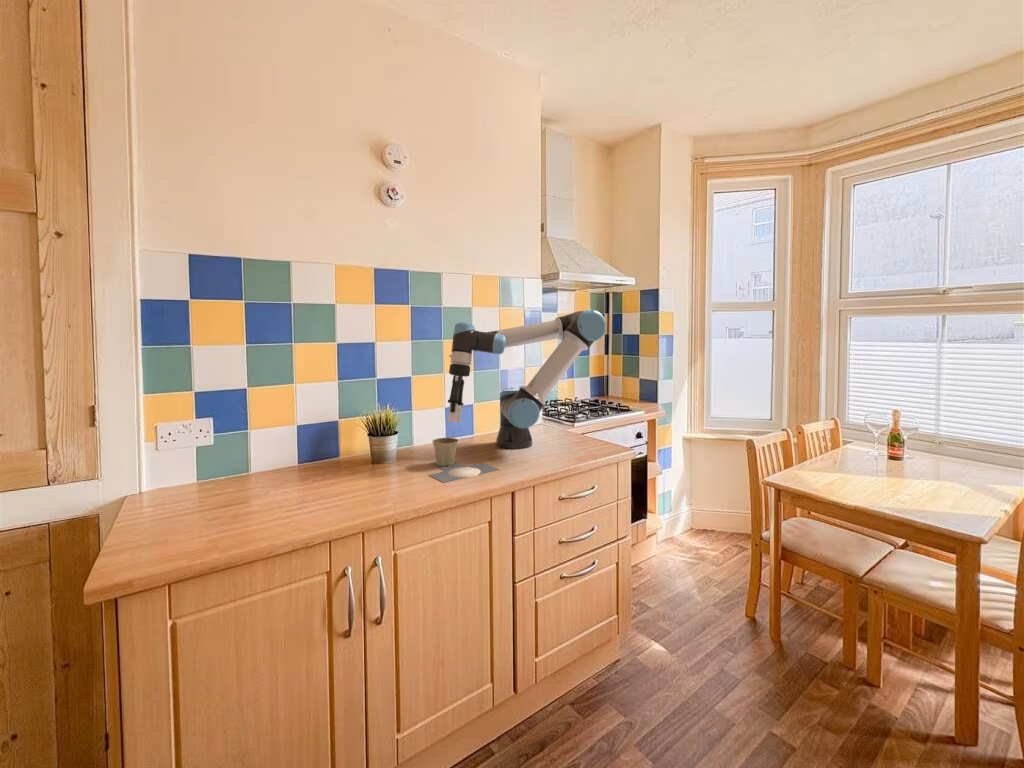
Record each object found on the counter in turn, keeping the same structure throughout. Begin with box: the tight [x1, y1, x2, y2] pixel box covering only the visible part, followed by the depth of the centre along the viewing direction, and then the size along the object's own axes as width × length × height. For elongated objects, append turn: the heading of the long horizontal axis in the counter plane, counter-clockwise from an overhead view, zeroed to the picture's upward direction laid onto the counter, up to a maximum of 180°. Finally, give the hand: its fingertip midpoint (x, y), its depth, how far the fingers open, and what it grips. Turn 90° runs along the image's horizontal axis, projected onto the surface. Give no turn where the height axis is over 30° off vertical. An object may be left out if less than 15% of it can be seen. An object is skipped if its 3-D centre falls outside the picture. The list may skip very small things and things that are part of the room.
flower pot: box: [431, 437, 460, 466], centre depth 165 cm, size 9×9×9 cm
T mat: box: [427, 461, 500, 484], centre depth 161 cm, size 22×22×1 cm
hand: (453, 422), depth 169 cm, fingers open, 13 cm apart
